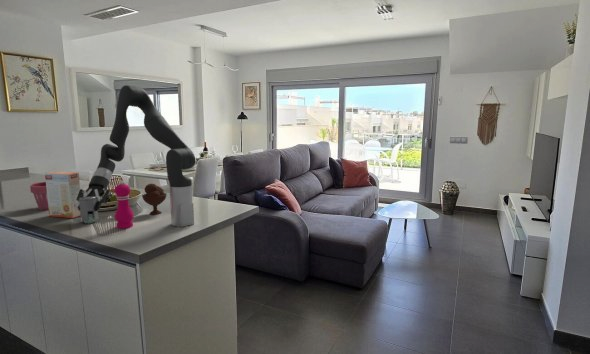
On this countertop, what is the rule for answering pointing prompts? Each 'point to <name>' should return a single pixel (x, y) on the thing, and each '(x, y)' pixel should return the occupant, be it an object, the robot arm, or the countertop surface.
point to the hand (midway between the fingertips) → (87, 210)
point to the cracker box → (63, 194)
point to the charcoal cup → (87, 207)
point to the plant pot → (40, 195)
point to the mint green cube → (90, 218)
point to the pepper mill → (123, 206)
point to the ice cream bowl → (154, 197)
